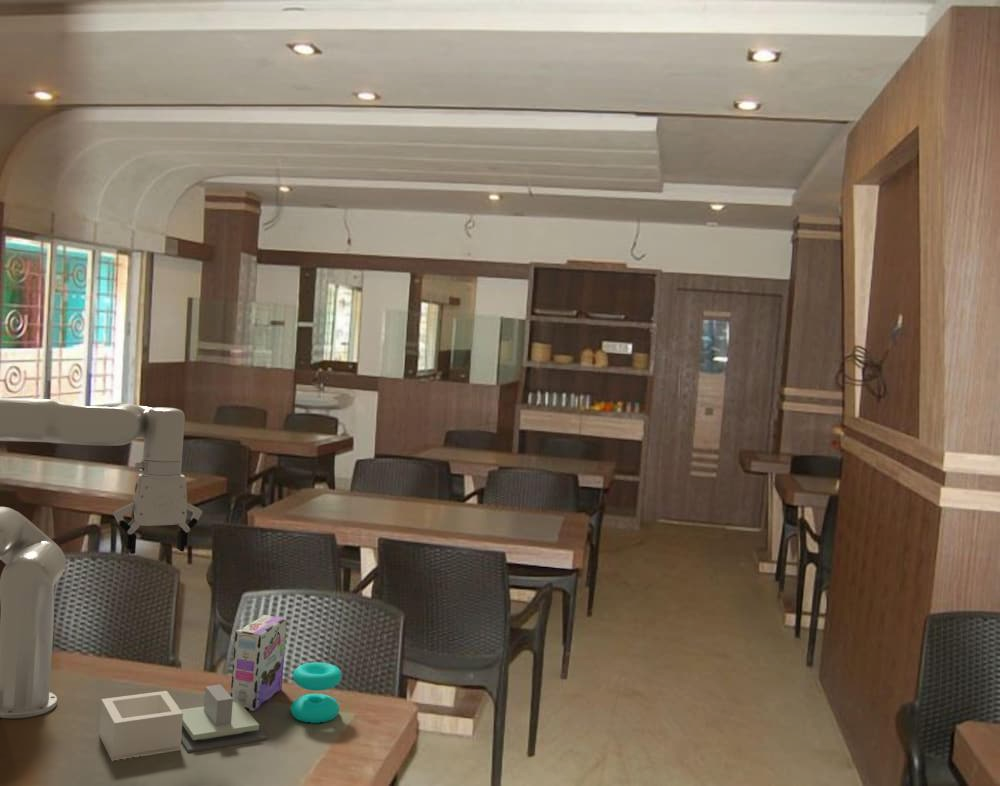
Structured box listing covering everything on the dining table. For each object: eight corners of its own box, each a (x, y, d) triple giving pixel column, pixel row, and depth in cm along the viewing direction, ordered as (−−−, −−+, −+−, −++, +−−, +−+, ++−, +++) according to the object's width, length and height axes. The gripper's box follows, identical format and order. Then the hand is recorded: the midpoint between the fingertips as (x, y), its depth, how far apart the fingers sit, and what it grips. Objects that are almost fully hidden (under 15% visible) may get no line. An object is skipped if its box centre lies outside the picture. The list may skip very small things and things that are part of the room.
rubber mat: (188, 752, 173) (188, 749, 173) (167, 721, 186) (167, 719, 186) (266, 739, 182) (266, 736, 182) (241, 711, 194) (242, 708, 194)
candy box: (254, 712, 194) (260, 634, 193) (228, 707, 195) (234, 630, 195) (282, 689, 208) (288, 616, 207) (258, 685, 209) (263, 613, 208)
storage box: (112, 761, 168) (114, 723, 167) (99, 735, 178) (101, 699, 177) (180, 750, 174) (182, 713, 174) (164, 725, 184) (166, 690, 184)
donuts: (331, 658, 202) (350, 673, 193) (327, 703, 202) (346, 721, 194) (286, 663, 196) (303, 679, 188) (283, 710, 197) (300, 728, 188)
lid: (192, 746, 175) (195, 708, 175) (175, 721, 185) (177, 685, 185) (258, 735, 182) (261, 699, 182) (237, 711, 192) (240, 677, 192)
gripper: (120, 471, 183) (115, 557, 183) (209, 471, 192) (204, 553, 193) (113, 465, 189) (107, 549, 190) (199, 465, 198) (194, 545, 199)
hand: (156, 551), depth 191 cm, fingers open, 9 cm apart
